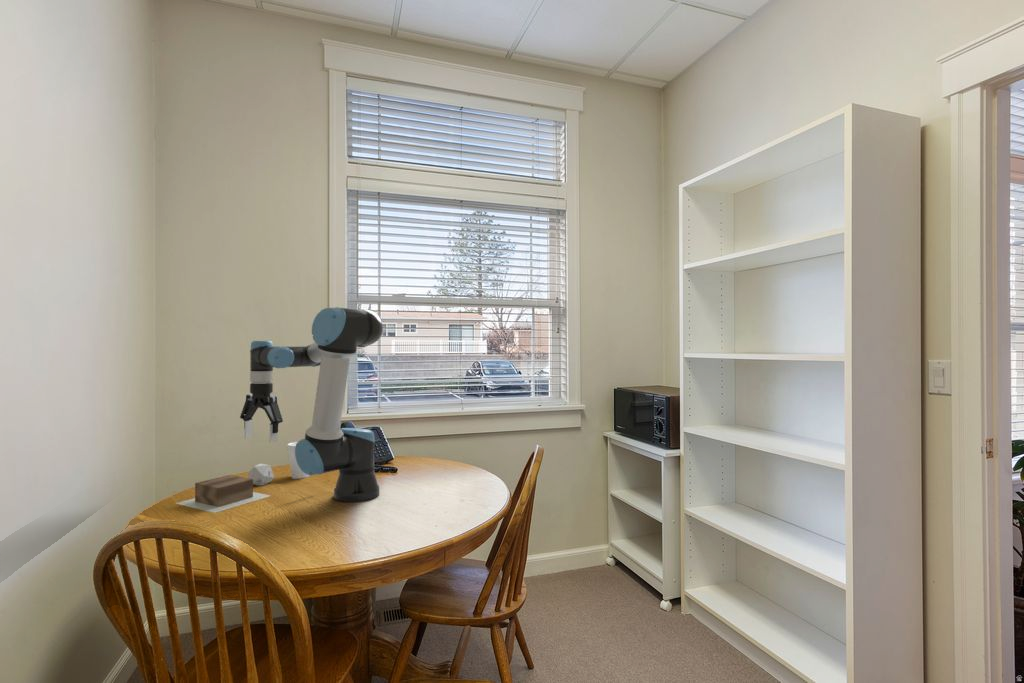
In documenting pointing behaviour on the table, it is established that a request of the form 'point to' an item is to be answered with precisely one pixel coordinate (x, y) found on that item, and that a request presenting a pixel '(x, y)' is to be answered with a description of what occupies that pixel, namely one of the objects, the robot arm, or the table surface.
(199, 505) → the base plate
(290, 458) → the foam cup
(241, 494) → the walnut block
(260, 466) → the die
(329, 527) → the table surface
